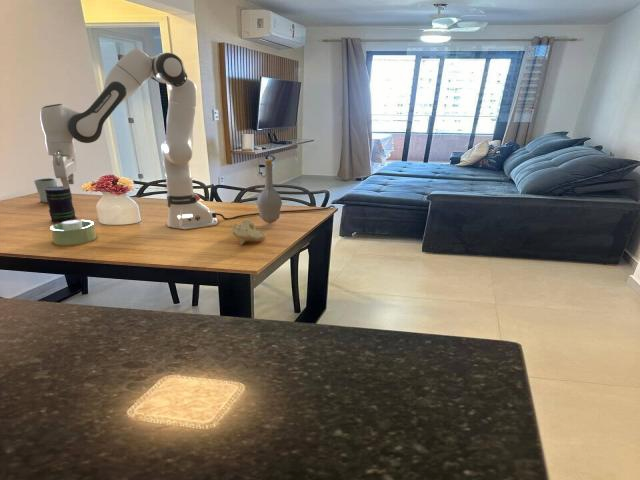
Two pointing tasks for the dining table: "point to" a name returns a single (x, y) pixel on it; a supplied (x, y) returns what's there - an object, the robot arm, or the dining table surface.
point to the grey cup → (44, 187)
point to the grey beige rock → (247, 232)
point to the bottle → (269, 198)
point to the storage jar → (60, 204)
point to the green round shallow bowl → (73, 234)
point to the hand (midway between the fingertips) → (69, 186)
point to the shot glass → (71, 224)
